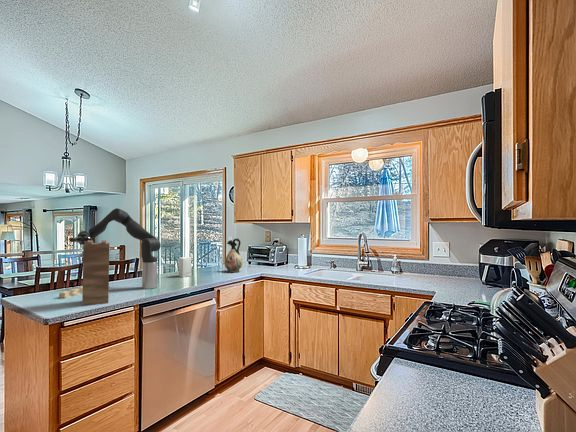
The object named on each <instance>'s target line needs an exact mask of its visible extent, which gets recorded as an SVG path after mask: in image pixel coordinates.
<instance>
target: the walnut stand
mask: <svg viewBox="0 0 576 432" xmlns="http://www.w3.org/2000/svg"><path fill="white" fill-rule="evenodd" d="M82 246H83V248H82V249H83V250H82V251H83V252H82V253H83V256H82V287H83V293H82V294H81V295H82V297H81V299H82V301H81V302H82V303H81V306H89V305H92V306H93V305H100V304H109V298H110V297H109V288H110V286H109V285H110V281H109V280H110V242H107V239H105V240H104V239H103V240H101V242H93V240H92V241H88V242H87V243H85V244H84V245H82Z"/></svg>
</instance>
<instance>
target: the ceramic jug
mask: <svg viewBox="0 0 576 432" xmlns="http://www.w3.org/2000/svg"><path fill="white" fill-rule="evenodd" d="M236 242H237V243H238V244H237V243H236ZM226 244H227V245H229V246H231V248H230V250H229V252H228V253H227V255H226V256H225V259H224V266H225V268H226V270H227V271H228V273H239V272H240V270H241V268H242V266H243V258H242V257H241V254H240V251H239V250H240V247H241V240H240V239H239V238H233V239H230V240H229V241H227V242H226ZM236 247H237V248H236Z"/></svg>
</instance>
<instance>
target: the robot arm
mask: <svg viewBox="0 0 576 432" xmlns="http://www.w3.org/2000/svg"><path fill="white" fill-rule="evenodd" d="M113 221H114V222H117V223H118V224H121V225H123V226H124V227H125V230H126V232H127V233H128V234H129V235H130V236H131V237H132V238H134V239H136V240H139V241H141V244H140V249H141V251H140V252H141V260H142V262H141V263H142V264H141V270H142V273H141V274H142V275H141V276H142V277H141V289H146V290H147V289H150V290H151V289H157V288H158V279H159V278H158V257H156V256H155V255H152V252H157V251H160V249H161V246H162V245H161V244H162V243H161V241H160V240H159V239H158V238H157V237H156V236H154V235H152V234H151V233H150V232H149V231H147V230H146V229H145V228H144V227H143V226H142V225H141V224H140V223H138V222H137V221H136V220H134V219H133V218H132V217H131V216H130V214H129V213H128V212H127V211H125V210H123V209H121V208H114V209H112V210H111V211H110V212H109V213H108V214H107V215H106V216H104V218H102V220H101V221H99V222H98V223H97V224H96V225H93V226H92V227H91V228H90V229H88V231H87V230H82V231H80V232H78V234H77V235H76V236H75V237H69V242H70V243H78V244H79V245H82V246H83V245H84V244H85V243H87V242H88V241H92V240H93V243H95V241H96V240H95V239H96V237H98V236H99V235H101V234H102V233H103V232H105V231H106V230H107V227H108V225H109V224H110V222H113Z"/></svg>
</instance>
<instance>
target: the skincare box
mask: <svg viewBox="0 0 576 432" xmlns="http://www.w3.org/2000/svg"><path fill="white" fill-rule="evenodd" d="M178 277H180V278H187V277H192V256H191V257H190V256H183V257H178Z"/></svg>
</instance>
